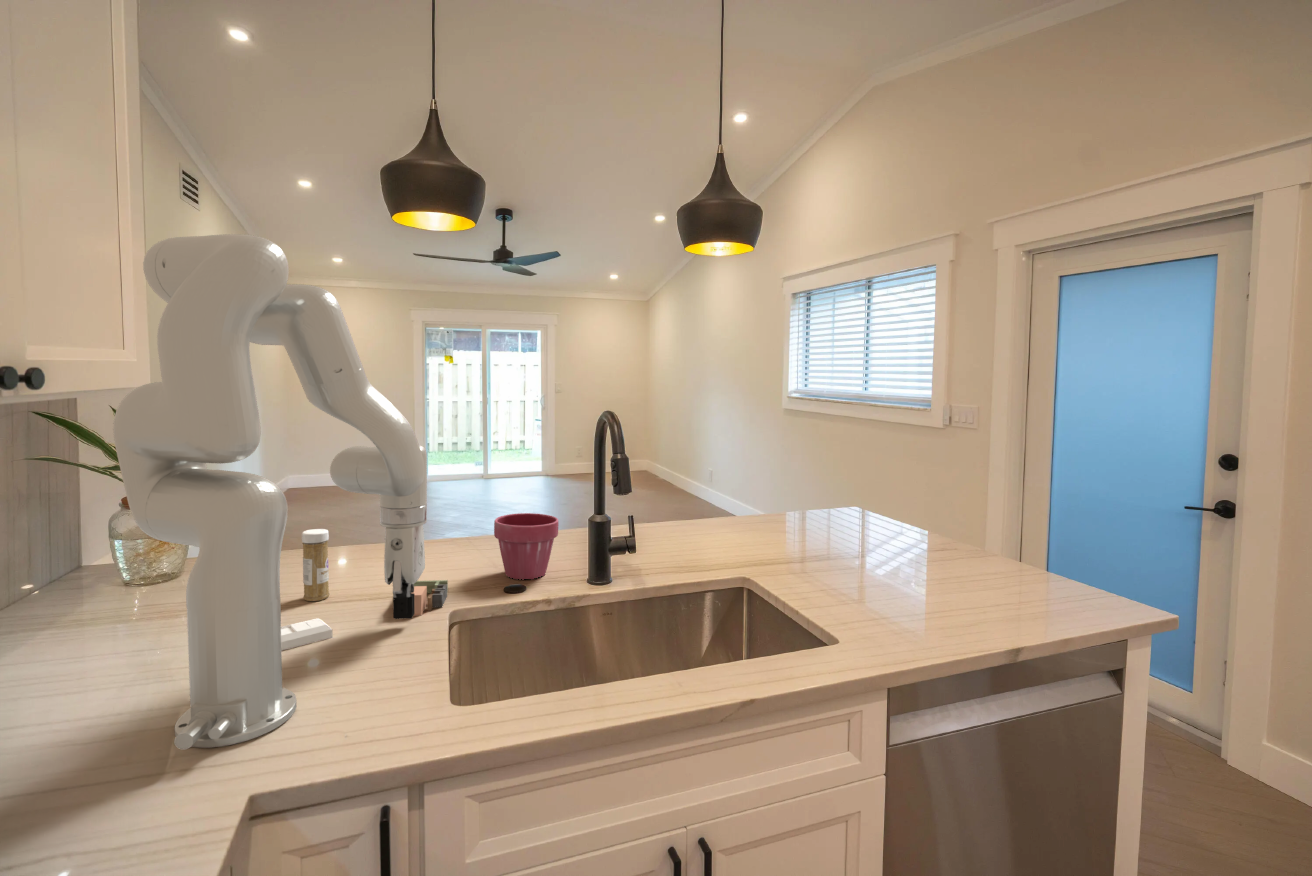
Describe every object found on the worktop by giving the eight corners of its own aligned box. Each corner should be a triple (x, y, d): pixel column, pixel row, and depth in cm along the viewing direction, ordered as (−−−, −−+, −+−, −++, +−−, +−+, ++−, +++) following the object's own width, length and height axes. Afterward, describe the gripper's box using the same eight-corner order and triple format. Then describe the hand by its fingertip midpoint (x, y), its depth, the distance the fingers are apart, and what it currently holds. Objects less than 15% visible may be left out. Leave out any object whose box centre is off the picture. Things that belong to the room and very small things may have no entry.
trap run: (440, 610, 114) (440, 597, 113) (393, 612, 112) (393, 599, 112) (449, 591, 124) (449, 580, 124) (406, 593, 122) (406, 581, 122)
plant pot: (543, 561, 147) (544, 510, 146) (567, 578, 135) (568, 522, 134) (485, 569, 139) (485, 515, 138) (505, 588, 127) (506, 528, 126)
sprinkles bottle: (330, 599, 117) (329, 532, 116) (303, 603, 115) (302, 534, 114) (328, 592, 121) (327, 527, 120) (302, 596, 119) (301, 529, 117)
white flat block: (332, 639, 101) (332, 624, 100) (270, 655, 94) (270, 639, 94) (322, 630, 104) (322, 615, 104) (262, 645, 98) (261, 629, 97)
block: (421, 616, 111) (421, 595, 111) (398, 616, 110) (398, 595, 110) (426, 606, 116) (426, 585, 116) (404, 606, 115) (404, 586, 115)
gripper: (417, 524, 97) (417, 633, 99) (434, 506, 112) (434, 601, 114) (368, 525, 96) (369, 635, 98) (391, 506, 111) (391, 602, 112)
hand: (403, 616), depth 106 cm, fingers closed
